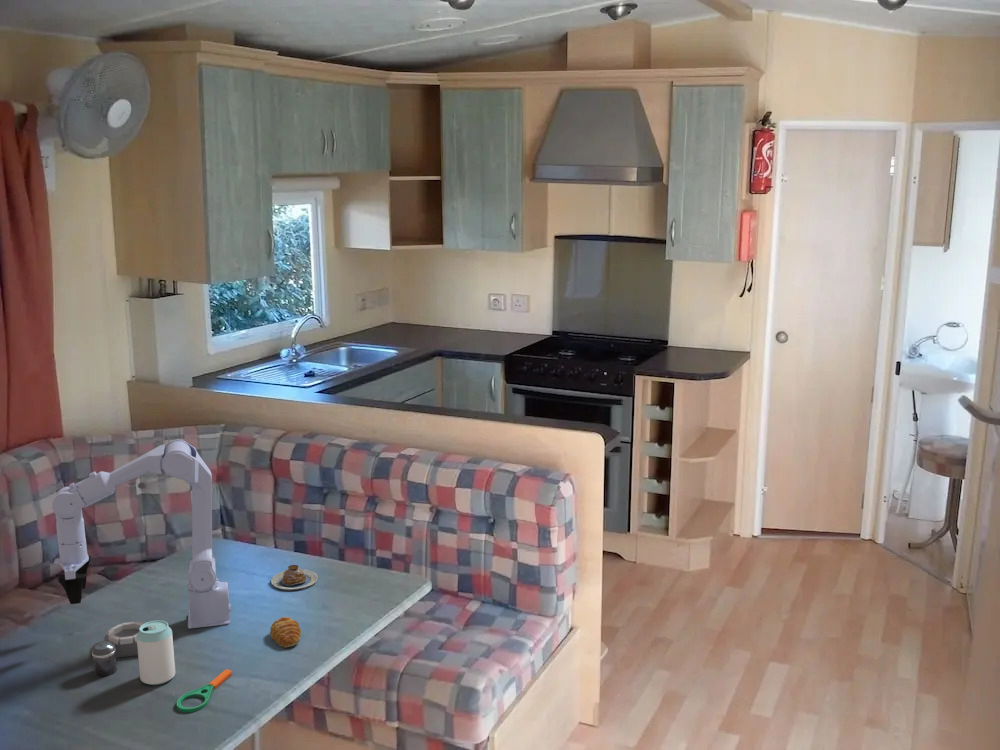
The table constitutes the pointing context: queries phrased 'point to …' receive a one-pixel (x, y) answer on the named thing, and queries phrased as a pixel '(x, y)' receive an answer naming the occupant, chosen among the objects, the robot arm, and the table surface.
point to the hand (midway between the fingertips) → (78, 595)
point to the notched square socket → (124, 638)
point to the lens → (104, 658)
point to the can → (155, 652)
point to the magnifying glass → (200, 692)
